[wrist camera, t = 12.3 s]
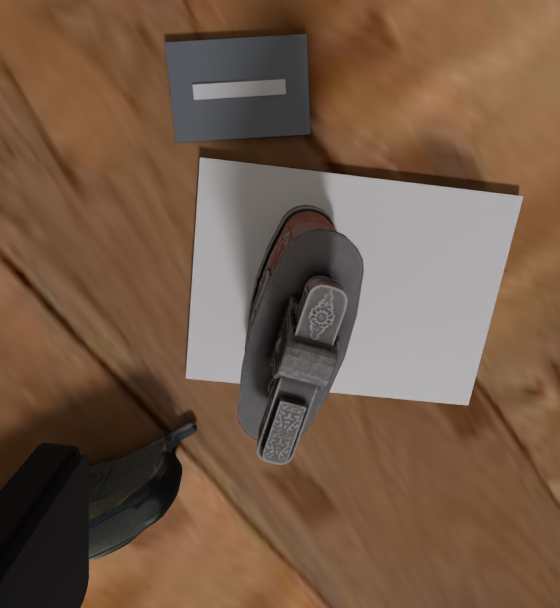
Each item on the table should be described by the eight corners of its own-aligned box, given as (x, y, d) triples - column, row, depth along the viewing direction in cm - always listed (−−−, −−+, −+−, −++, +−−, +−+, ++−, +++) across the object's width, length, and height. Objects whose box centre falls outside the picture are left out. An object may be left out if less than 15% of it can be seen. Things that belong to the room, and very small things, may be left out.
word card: (306, 35, 21) (306, 33, 20) (309, 134, 22) (310, 134, 22) (165, 43, 21) (163, 41, 20) (177, 142, 22) (175, 142, 22)
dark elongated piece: (-47, 633, 25) (203, 514, 22) (-88, 594, 24) (166, 466, 22) (5, 554, 30) (216, 449, 27) (-28, 519, 29) (186, 408, 26)
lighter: (280, 195, 22) (287, 231, 13) (349, 216, 23) (406, 266, 13) (234, 350, 25) (212, 477, 15) (297, 367, 25) (314, 501, 16)
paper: (519, 195, 23) (523, 196, 23) (465, 401, 26) (468, 405, 26) (201, 156, 22) (199, 157, 22) (187, 375, 26) (185, 378, 25)
